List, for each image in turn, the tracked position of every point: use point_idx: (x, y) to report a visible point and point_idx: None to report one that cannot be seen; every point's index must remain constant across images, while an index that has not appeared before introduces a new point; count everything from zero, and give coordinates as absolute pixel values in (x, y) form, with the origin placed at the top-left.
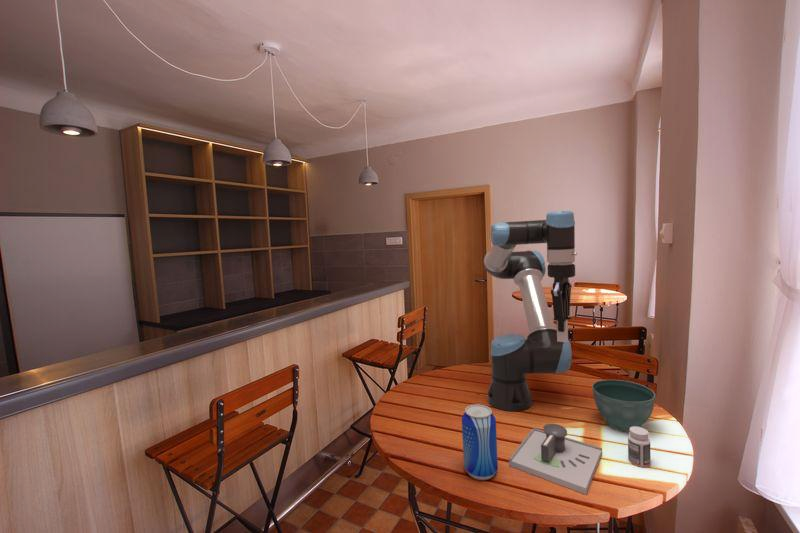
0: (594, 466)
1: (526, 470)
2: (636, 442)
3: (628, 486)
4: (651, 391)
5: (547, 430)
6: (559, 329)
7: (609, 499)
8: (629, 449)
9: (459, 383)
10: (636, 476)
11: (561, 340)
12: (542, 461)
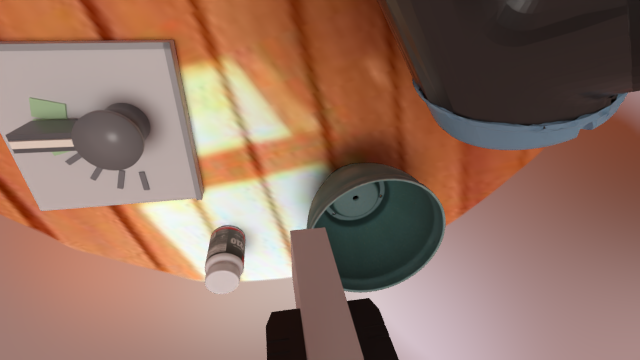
0: (127, 203)
1: None
2: (205, 269)
3: (138, 241)
4: (399, 280)
5: (82, 128)
6: (266, 339)
7: (74, 231)
8: (213, 244)
9: None
10: (178, 243)
11: (292, 259)
12: (36, 120)
